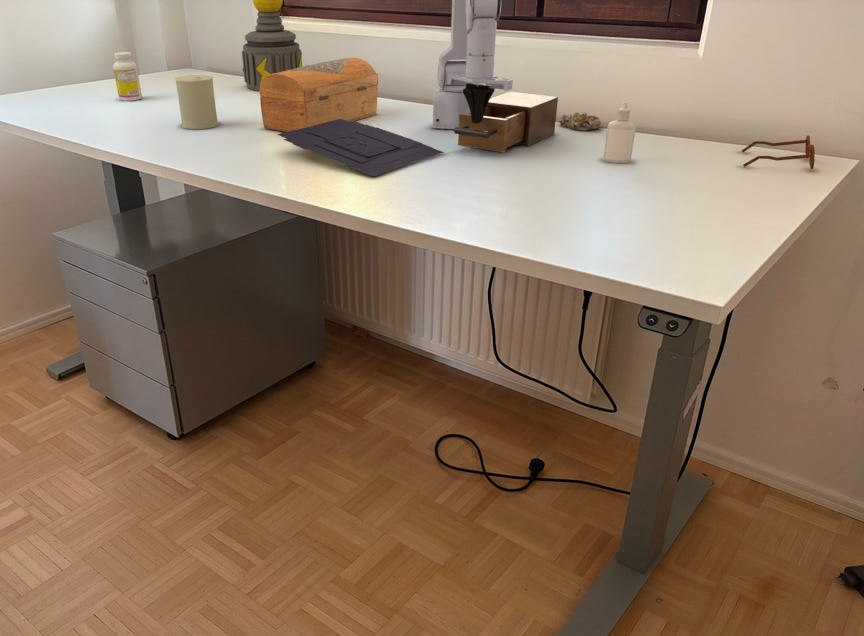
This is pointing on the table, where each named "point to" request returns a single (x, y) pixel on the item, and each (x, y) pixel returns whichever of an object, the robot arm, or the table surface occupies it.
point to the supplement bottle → (126, 77)
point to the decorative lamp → (269, 46)
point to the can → (197, 101)
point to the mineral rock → (580, 121)
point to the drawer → (493, 129)
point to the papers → (360, 145)
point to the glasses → (808, 151)
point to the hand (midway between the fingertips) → (477, 122)
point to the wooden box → (319, 94)
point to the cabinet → (531, 113)
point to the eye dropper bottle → (620, 138)
